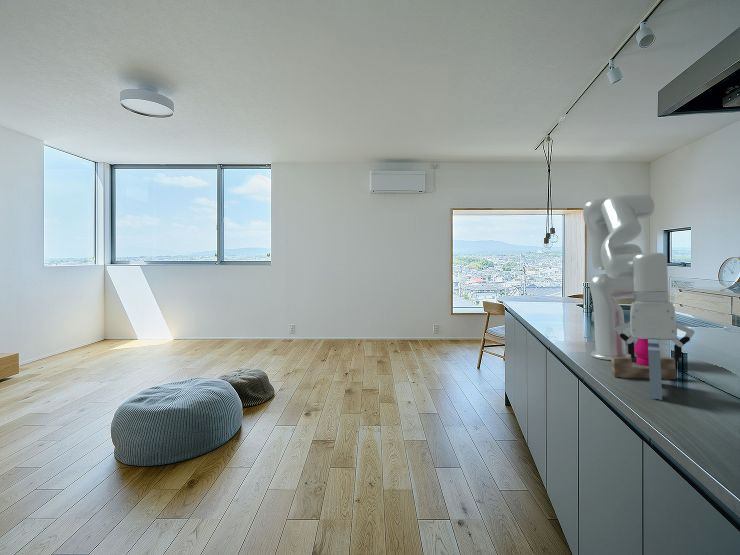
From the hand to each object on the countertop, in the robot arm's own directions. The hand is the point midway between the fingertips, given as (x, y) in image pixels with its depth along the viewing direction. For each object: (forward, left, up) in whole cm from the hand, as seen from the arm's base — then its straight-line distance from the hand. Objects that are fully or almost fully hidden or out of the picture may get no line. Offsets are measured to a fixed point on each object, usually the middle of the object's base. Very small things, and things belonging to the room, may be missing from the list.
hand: (654, 358), depth 101 cm
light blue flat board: (0, 0, -9) cm, 9 cm away
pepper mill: (-30, -7, -9) cm, 32 cm away
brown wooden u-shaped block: (-12, -5, -9) cm, 16 cm away
